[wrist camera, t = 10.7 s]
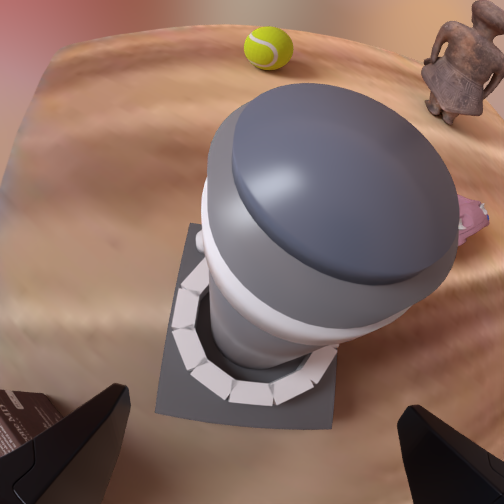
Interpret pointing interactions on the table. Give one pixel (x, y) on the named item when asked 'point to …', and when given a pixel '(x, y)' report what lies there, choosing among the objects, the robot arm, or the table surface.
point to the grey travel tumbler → (320, 222)
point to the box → (23, 418)
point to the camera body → (234, 367)
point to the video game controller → (471, 218)
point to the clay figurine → (465, 63)
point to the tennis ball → (268, 48)
